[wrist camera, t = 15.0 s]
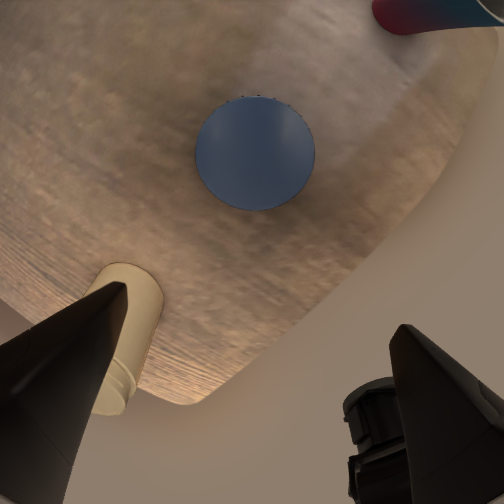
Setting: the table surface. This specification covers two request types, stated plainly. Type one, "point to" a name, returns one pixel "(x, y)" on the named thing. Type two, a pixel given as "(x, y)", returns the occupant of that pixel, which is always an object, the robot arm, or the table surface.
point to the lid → (254, 153)
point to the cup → (436, 14)
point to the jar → (128, 335)
